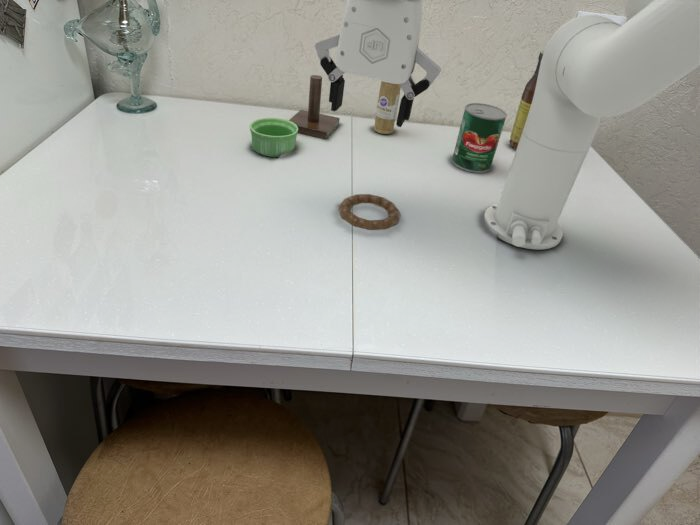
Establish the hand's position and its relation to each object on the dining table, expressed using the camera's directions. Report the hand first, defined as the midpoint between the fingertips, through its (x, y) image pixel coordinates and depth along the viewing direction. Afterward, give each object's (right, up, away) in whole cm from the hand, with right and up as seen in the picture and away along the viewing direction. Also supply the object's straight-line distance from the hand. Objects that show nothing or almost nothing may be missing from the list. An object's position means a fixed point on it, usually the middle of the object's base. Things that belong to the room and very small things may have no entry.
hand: (368, 115), depth 71 cm
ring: (0, -13, +7) cm, 15 cm away
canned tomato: (+22, -1, +28) cm, 36 cm away
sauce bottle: (+35, +4, +38) cm, 52 cm away
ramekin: (-17, +1, +24) cm, 29 cm away
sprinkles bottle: (+5, +8, +37) cm, 38 cm away
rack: (-10, +8, +34) cm, 36 cm away
